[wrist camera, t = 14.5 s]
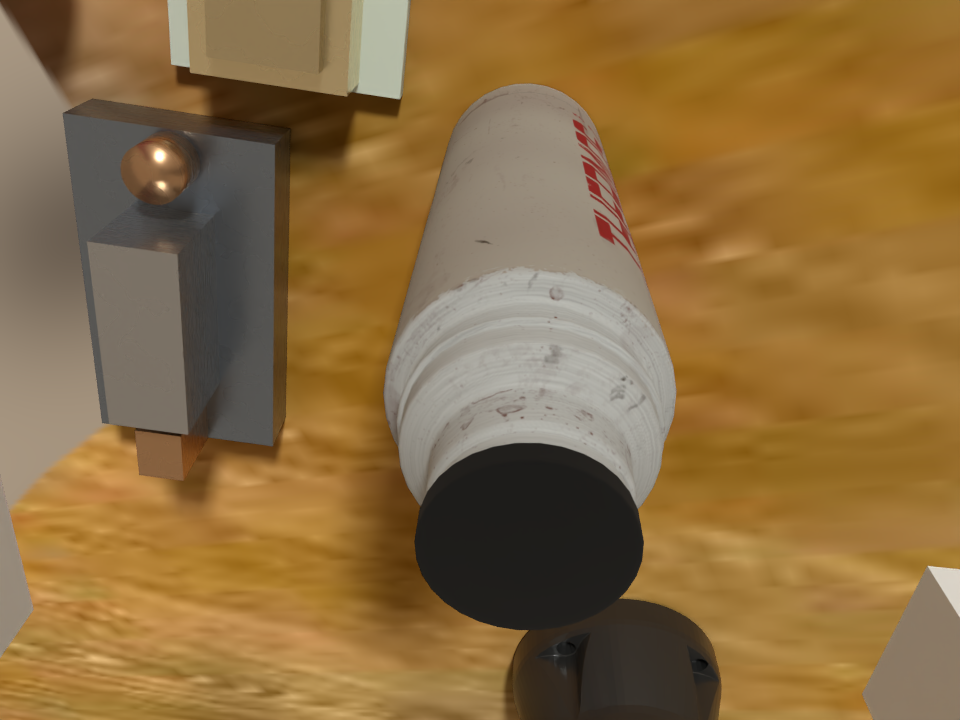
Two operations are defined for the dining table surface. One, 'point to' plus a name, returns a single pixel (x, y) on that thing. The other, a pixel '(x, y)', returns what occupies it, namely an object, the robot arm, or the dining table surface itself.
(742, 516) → the dining table surface
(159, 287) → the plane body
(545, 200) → the thermos bottle
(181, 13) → the rubber mat
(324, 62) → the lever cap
